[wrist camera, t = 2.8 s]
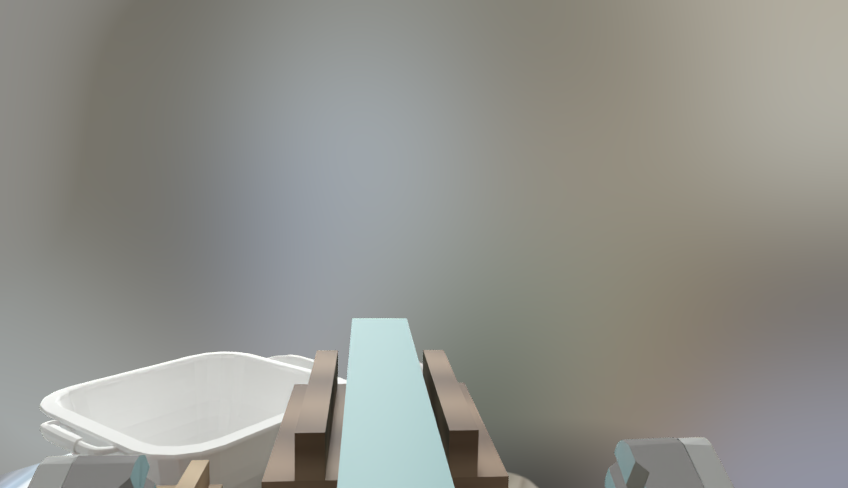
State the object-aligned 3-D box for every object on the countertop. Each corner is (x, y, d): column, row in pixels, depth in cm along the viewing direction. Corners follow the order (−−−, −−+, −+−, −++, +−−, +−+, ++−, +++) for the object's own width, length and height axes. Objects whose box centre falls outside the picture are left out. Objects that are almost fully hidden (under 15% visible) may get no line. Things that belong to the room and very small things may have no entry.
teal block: (469, 662, 16) (472, 550, 16) (330, 668, 16) (330, 555, 16) (405, 363, 42) (406, 318, 42) (351, 363, 42) (352, 318, 42)
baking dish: (240, 420, 100) (240, 339, 98) (385, 470, 84) (387, 375, 82) (-5, 512, 72) (-11, 401, 71) (142, 614, 56) (138, 474, 55)
